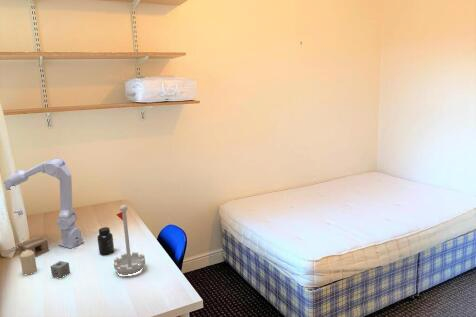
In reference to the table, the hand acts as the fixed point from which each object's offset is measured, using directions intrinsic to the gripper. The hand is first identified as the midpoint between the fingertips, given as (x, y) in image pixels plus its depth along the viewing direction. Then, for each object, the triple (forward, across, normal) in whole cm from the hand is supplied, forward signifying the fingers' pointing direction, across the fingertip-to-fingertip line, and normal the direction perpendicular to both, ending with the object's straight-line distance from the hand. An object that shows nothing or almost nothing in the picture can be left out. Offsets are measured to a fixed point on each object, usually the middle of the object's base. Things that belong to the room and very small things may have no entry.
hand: (14, 226), depth 188 cm
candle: (+11, -31, +14) cm, 36 cm away
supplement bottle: (+10, -48, -14) cm, 51 cm away
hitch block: (+10, -16, +2) cm, 19 cm away
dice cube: (+11, -46, +9) cm, 49 cm away
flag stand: (+10, -71, -6) cm, 72 cm away
